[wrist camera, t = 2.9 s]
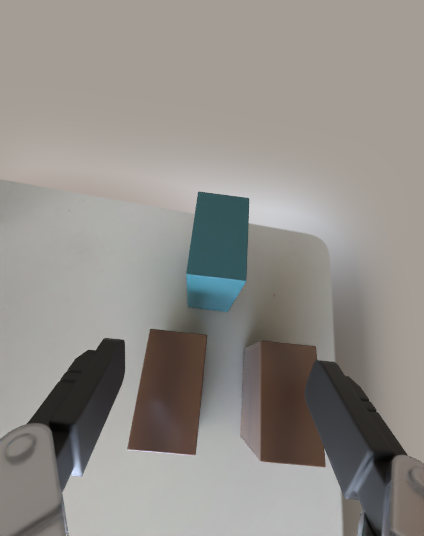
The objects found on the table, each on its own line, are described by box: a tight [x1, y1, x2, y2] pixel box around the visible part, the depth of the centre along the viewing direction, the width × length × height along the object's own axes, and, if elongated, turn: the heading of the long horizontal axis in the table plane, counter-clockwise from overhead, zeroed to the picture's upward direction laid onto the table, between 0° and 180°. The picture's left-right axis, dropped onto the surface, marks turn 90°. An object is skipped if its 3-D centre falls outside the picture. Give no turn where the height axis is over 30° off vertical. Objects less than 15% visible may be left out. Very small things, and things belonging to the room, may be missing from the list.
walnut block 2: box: [241, 341, 325, 467], centre depth 21 cm, size 5×8×7 cm, turn 175°
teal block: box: [186, 192, 249, 312], centre depth 24 cm, size 5×8×10 cm, turn 175°
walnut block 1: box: [127, 329, 207, 456], centre depth 21 cm, size 5×8×7 cm, turn 175°
